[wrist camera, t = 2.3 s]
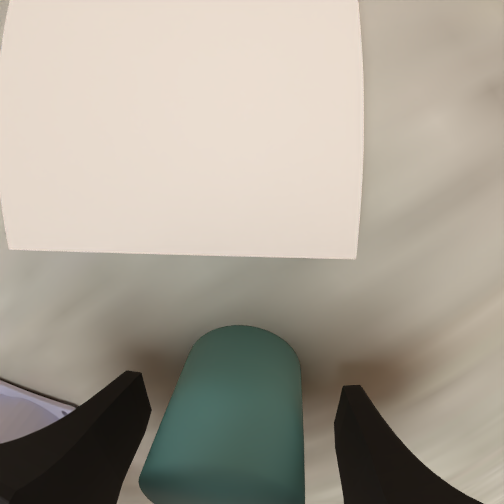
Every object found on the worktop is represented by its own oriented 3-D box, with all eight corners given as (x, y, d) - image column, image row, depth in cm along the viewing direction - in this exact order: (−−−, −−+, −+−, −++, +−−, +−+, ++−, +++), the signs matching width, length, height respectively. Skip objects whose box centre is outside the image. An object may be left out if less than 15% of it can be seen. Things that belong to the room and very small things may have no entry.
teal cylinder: (194, 405, 13) (158, 518, 8) (182, 321, 12) (118, 447, 6) (296, 411, 13) (295, 533, 7) (305, 327, 11) (316, 469, 6)
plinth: (60, 224, 11) (9, 249, 8) (65, -14, 7) (20, -37, 5) (335, 225, 10) (355, 259, 7) (328, -55, 7) (340, -103, 4)
